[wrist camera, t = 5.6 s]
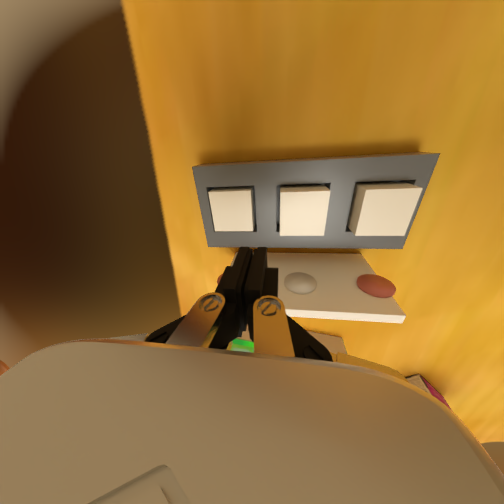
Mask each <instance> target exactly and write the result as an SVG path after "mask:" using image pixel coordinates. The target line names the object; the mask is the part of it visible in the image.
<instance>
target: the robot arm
mask: <svg viewBox="0 0 504 504" xmlns="http://www.w3.org/2000/svg"><path fill="white" fill-rule="evenodd" d="M247 324H248V331H249V336H250V339H251V340H252V342H253V343H254V353H251V352H242V351H232V350H231V347H232V344H233V342H232V341H233V340H234V339H236V338H237V337H242V332H243V331H245V332H246V329H247ZM0 504H504V475H503V474H502V473H501V471H500V470H499V468H498V467H497V465H496V464H495V462H494V461H493V460H492V458H490V456H489V454H488V453H487V452H486V450H485V449H484V448H483V446H482V445H481V444H480V442H479V441H478V440H477V439H476V437H475V436H474V435H473V434H472V432H471V431H470V430H469V429H468V428H467V426H466V425H465V424H464V423H463V422H462V421H461V420H460V419H459V417H458V416H457V415H456V414H455V413H454V412H452V411H451V410H450V409H449V408H448V407H447V406H446V405H445V404H443V403H442V402H441V401H439V400H438V399H437V398H435V397H434V396H432V395H430V394H429V393H427V392H425V391H424V390H422V389H420V388H418V387H416V386H414V385H412V384H410V383H409V382H408V381H407V379H406V378H405V377H404V376H403V375H402V374H400V373H399V372H398V371H396V370H394V369H392V368H390V367H387V366H384V365H380V364H377V363H374V362H370V361H367V360H364V359H360V358H357V357H354V356H351V355H347V354H344V353H341V352H337V354H335V353H332V352H329V350H328V349H327V348H326V347H325V346H324V345H323V344H321V343H320V342H319V341H318V340H317V339H315V338H314V337H313V336H312V335H311V334H309V333H308V332H307V331H306V330H305V329H303V328H302V327H301V326H300V325H299V324H297V323H296V322H295V321H294V320H293V319H291V318H290V317H289V316H288V315H287V314H286V311H285V306H284V304H283V302H282V301H281V300H280V299H279V298H278V268H269V267H268V265H267V247H258V249H255V250H254V254H253V250H252V249H250V248H249V247H240V248H239V251H238V253H237V256H236V258H235V261H234V263H233V265H232V266H227V267H226V268H225V271H224V273H223V275H222V277H221V279H220V282H219V284H218V286H217V288H216V290H215V293H208V294H205V295H203V296H201V297H200V298H199V299H198V300H197V301H196V303H195V304H194V305H193V307H192V308H191V309H190V311H189V312H188V313H187V315H185V316H183V317H181V318H179V319H177V320H175V321H173V322H171V323H170V324H167V325H166V326H164V327H162V328H160V329H158V330H156V331H154V332H153V333H151V334H150V335H149V336H148V334H147V333H146V334H138V335H130V336H122V337H115V338H108V339H82V340H75V341H68V342H64V343H60V344H56V345H52V346H49V347H47V348H44V349H41V350H39V351H36V352H34V353H33V354H31V355H29V356H27V357H26V358H24V359H23V360H21V361H20V362H19V363H17V364H16V365H14V366H13V367H12V368H10V369H9V370H8V371H6V372H5V373H4V374H2V375H1V376H0Z"/></svg>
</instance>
